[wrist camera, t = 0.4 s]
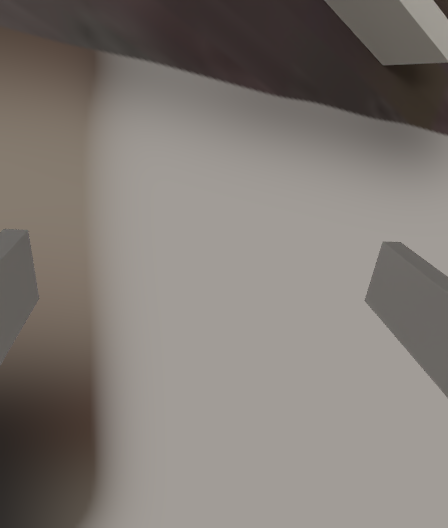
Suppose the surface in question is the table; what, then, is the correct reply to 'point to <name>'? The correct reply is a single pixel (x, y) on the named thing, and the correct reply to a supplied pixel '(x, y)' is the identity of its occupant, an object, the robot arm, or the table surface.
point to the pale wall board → (397, 29)
